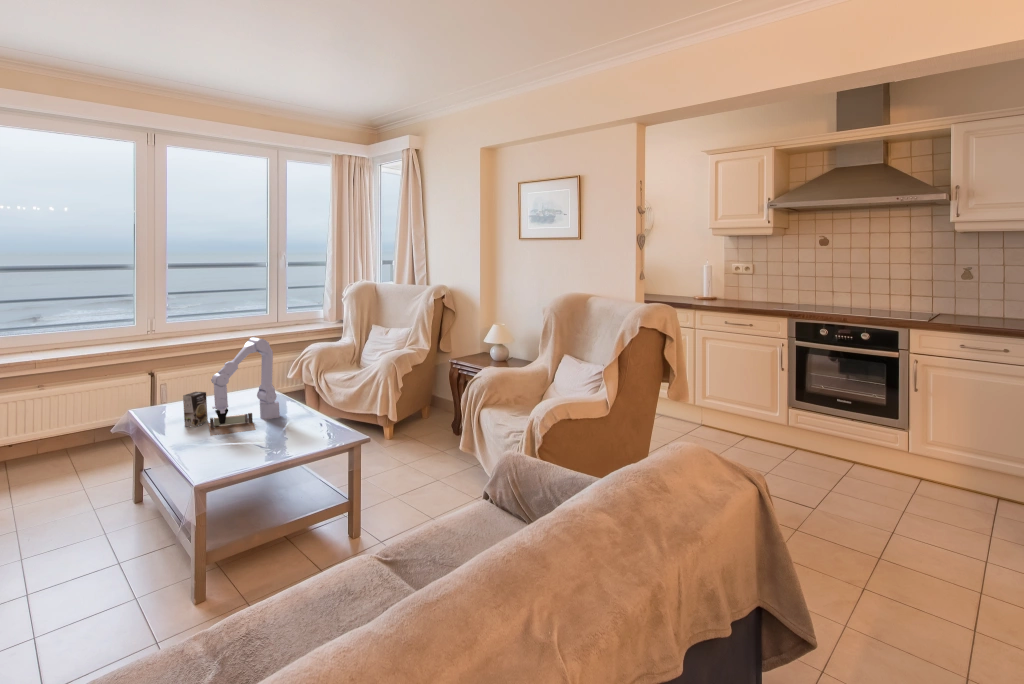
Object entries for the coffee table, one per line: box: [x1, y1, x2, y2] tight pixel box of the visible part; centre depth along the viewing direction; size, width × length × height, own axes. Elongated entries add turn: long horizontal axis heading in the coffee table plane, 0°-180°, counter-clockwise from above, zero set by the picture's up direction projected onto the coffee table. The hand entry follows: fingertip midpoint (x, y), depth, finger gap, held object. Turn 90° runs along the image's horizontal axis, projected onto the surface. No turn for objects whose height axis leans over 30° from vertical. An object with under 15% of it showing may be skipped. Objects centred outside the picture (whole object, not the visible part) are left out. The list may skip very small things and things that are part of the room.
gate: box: [213, 413, 248, 426], centre depth 283 cm, size 15×2×4 cm, turn 120°
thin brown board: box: [207, 412, 257, 437], centre depth 280 cm, size 20×22×6 cm
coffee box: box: [182, 391, 209, 428], centre depth 283 cm, size 9×6×16 cm
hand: (222, 423), depth 279 cm, fingers closed
